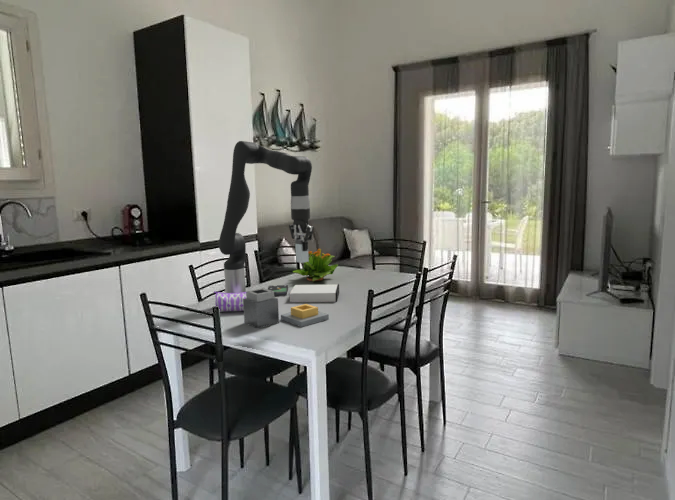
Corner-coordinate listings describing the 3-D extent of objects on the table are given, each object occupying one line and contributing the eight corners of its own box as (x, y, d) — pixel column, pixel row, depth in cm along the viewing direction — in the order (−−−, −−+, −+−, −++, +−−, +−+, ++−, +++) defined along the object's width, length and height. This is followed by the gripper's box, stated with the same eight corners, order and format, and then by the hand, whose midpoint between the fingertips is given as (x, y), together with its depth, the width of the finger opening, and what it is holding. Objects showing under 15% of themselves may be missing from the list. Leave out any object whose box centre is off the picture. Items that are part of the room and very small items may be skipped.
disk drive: (268, 290, 240) (266, 297, 226) (268, 285, 240) (265, 291, 225) (288, 289, 241) (287, 296, 226) (288, 284, 240) (286, 291, 226)
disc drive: (337, 302, 212) (337, 292, 211) (289, 303, 214) (289, 292, 213) (339, 293, 230) (339, 283, 229) (295, 293, 231) (295, 284, 230)
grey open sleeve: (244, 322, 184) (242, 291, 182) (265, 317, 190) (263, 287, 188) (257, 328, 176) (255, 295, 174) (279, 322, 183) (277, 291, 181)
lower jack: (280, 319, 187) (280, 307, 186) (307, 312, 196) (307, 301, 195) (301, 326, 177) (300, 314, 176) (328, 319, 186) (328, 307, 185)
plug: (296, 261, 183) (295, 239, 182) (303, 260, 185) (302, 238, 184) (301, 262, 180) (300, 240, 179) (308, 261, 183) (307, 239, 181)
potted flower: (286, 282, 255) (285, 252, 252) (301, 274, 277) (300, 246, 275) (328, 284, 248) (327, 253, 245) (340, 275, 270) (340, 246, 267)
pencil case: (264, 305, 209) (263, 285, 207) (266, 311, 200) (265, 290, 198) (215, 310, 204) (214, 289, 202) (214, 315, 195) (213, 294, 193)
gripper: (282, 207, 182) (284, 249, 185) (303, 208, 172) (305, 253, 174) (297, 206, 187) (298, 247, 190) (319, 207, 177) (320, 251, 179)
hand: (302, 250), depth 182 cm, fingers closed on plug, 3 cm apart
